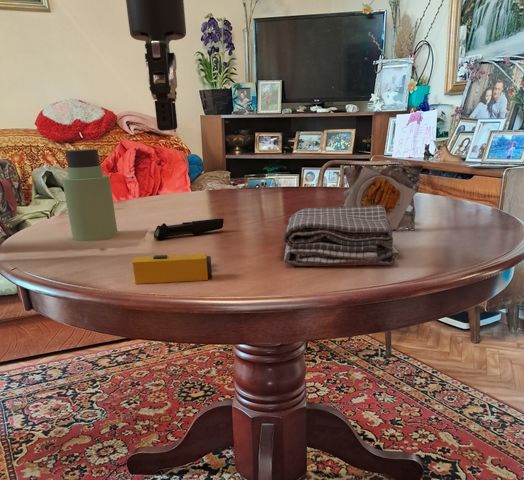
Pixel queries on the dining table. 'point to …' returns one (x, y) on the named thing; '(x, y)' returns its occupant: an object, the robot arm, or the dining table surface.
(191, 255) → the bar
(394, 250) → the towel
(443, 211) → the dining table surface
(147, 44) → the robot arm
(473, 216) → the dining table surface
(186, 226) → the electric trimmer
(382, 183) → the meal
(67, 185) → the bottle
